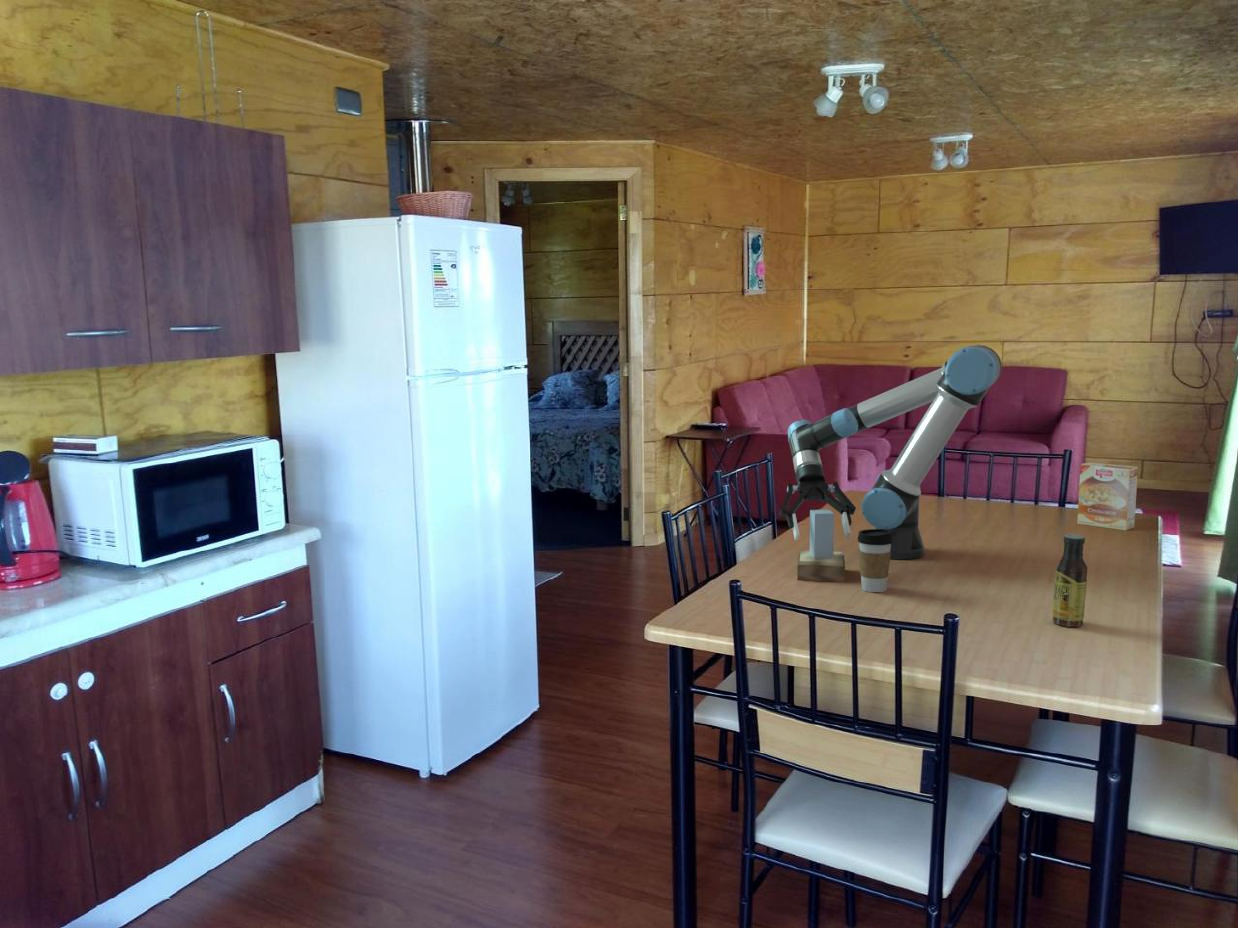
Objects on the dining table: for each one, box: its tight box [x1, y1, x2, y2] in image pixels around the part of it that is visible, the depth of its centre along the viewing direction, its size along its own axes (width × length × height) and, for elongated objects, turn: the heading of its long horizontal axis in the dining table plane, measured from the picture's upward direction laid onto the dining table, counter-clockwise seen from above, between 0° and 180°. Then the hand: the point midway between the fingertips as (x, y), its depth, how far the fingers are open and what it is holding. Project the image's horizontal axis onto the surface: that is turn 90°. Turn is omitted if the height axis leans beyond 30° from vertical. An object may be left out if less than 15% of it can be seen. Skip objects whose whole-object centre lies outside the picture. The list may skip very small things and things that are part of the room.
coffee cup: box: [857, 528, 893, 593], centre depth 232 cm, size 8×8×15 cm
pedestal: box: [796, 550, 846, 583], centre depth 247 cm, size 12×12×5 cm
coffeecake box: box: [1076, 461, 1139, 531], centre depth 295 cm, size 15×7×20 cm, turn 42°
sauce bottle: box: [1052, 533, 1088, 628], centre depth 202 cm, size 7×6×20 cm
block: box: [809, 509, 835, 559], centre depth 245 cm, size 5×5×12 cm
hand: (822, 536), depth 244 cm, fingers open, 13 cm apart
